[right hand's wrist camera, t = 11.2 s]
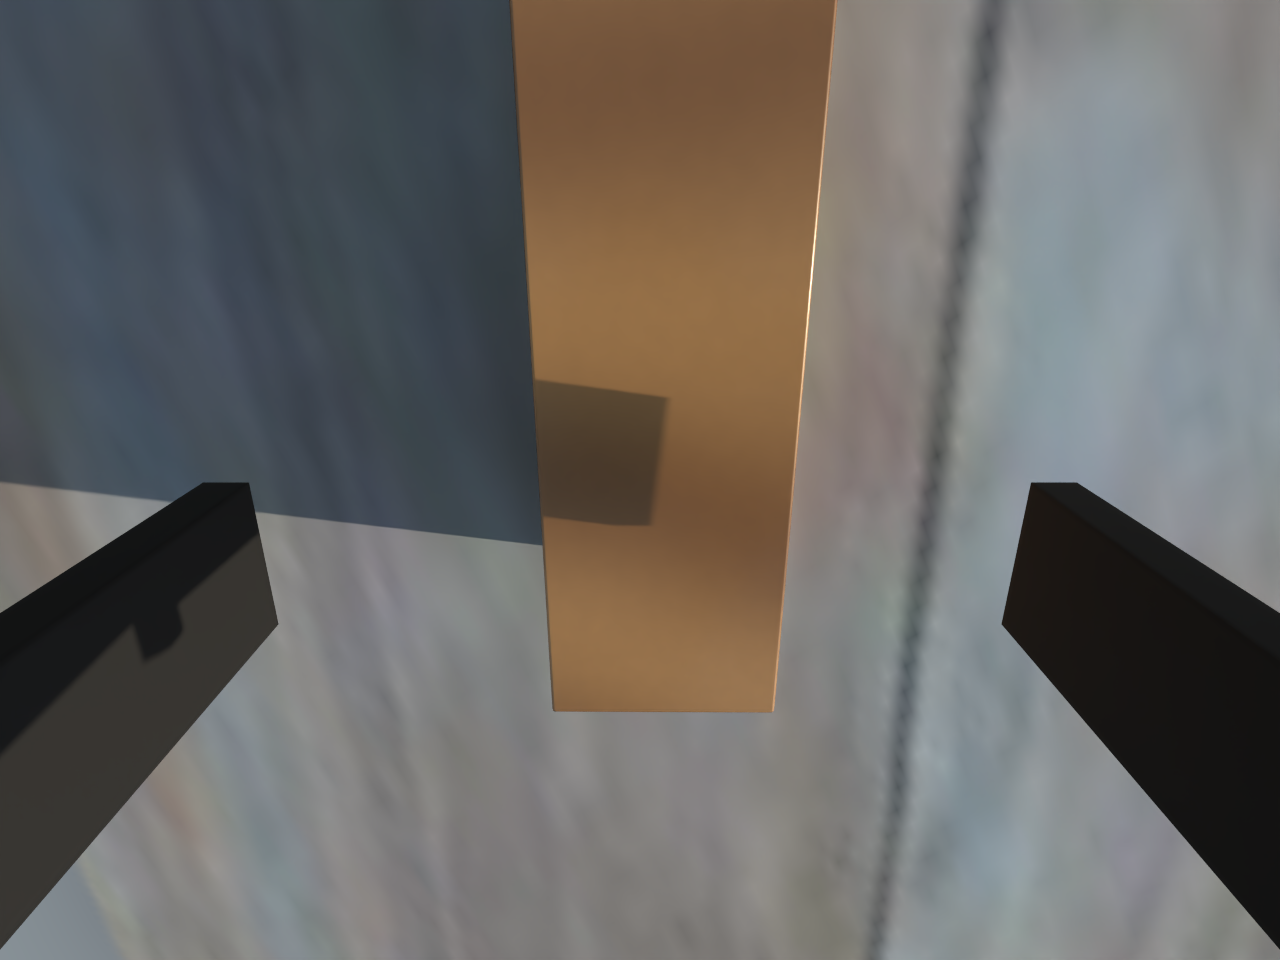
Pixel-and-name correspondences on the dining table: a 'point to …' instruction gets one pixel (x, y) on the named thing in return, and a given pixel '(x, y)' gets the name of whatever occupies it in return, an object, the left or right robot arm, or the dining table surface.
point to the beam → (668, 332)
